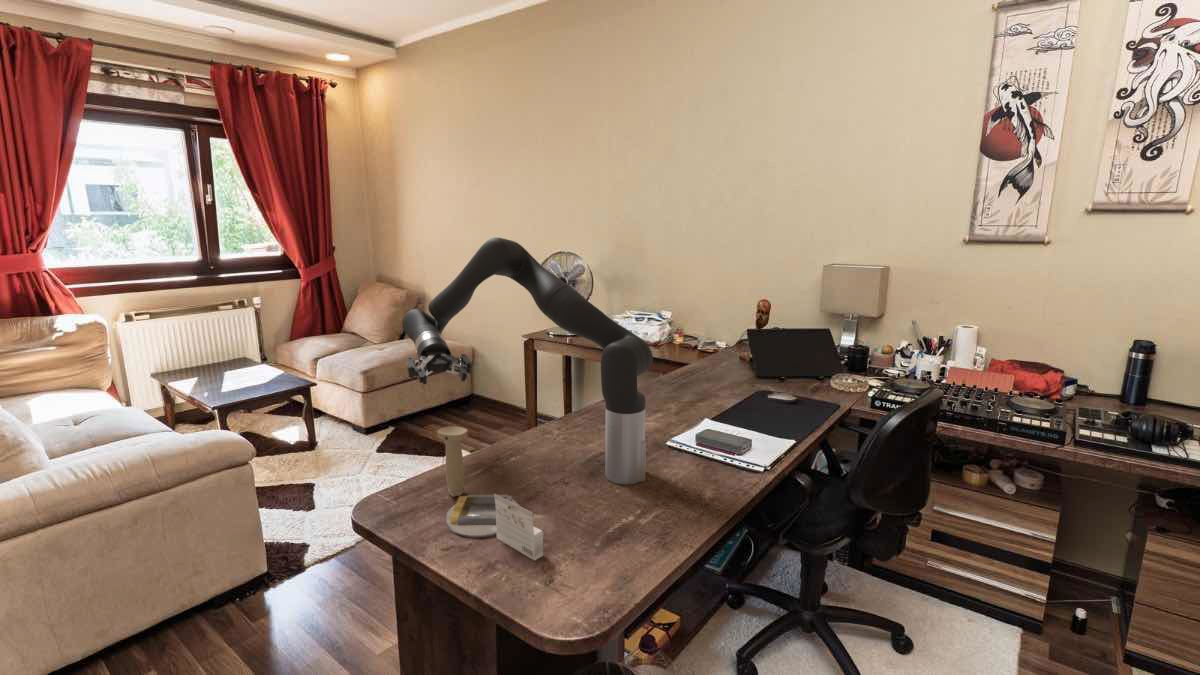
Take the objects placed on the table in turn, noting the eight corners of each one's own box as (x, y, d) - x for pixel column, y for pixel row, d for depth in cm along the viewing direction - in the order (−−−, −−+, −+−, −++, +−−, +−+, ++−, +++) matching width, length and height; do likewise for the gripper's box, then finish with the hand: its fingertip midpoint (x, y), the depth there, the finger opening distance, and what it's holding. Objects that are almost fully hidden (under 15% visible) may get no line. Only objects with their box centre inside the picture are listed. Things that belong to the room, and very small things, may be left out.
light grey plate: (524, 498, 126) (524, 488, 126) (515, 537, 112) (515, 525, 111) (456, 499, 126) (455, 488, 126) (438, 537, 111) (437, 526, 111)
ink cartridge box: (505, 533, 113) (503, 488, 111) (544, 556, 106) (543, 507, 104) (495, 539, 111) (493, 492, 109) (534, 562, 104) (532, 513, 102)
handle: (449, 486, 132) (445, 425, 128) (474, 491, 130) (471, 428, 126) (437, 496, 127) (433, 432, 124) (463, 501, 125) (459, 436, 122)
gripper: (402, 337, 139) (411, 366, 125) (461, 335, 145) (476, 362, 131) (402, 366, 141) (411, 397, 128) (460, 362, 147) (475, 391, 134)
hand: (444, 379), depth 130 cm, fingers open, 8 cm apart
